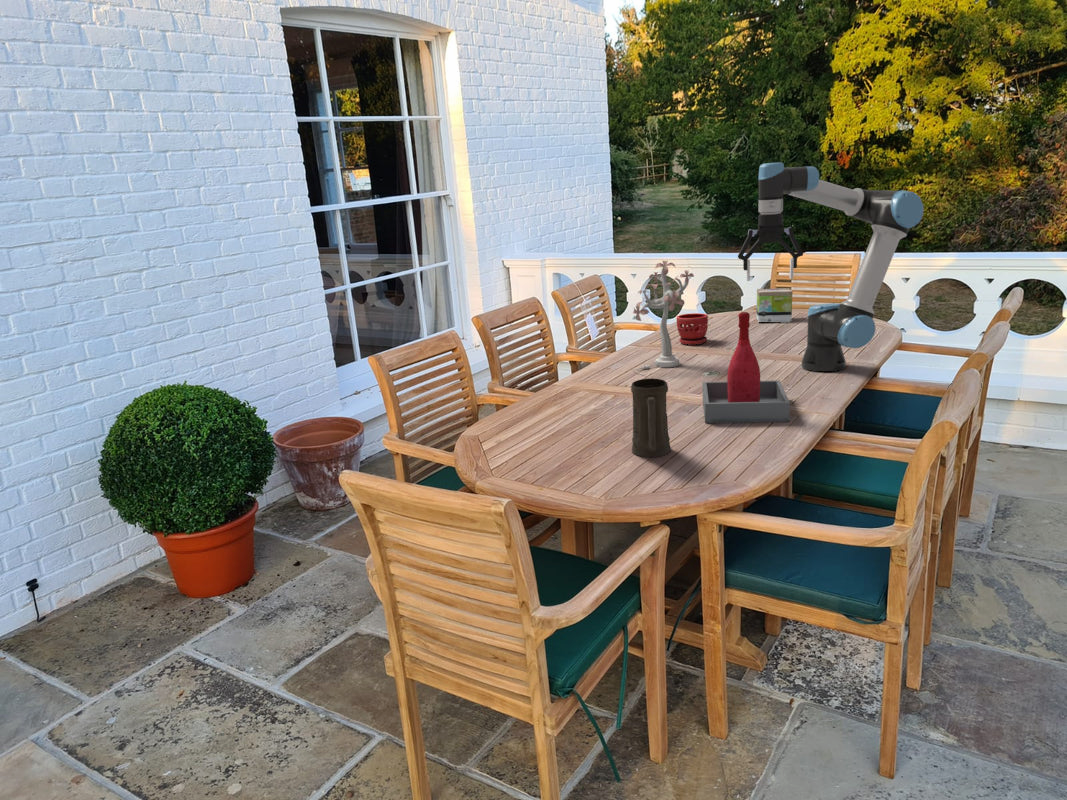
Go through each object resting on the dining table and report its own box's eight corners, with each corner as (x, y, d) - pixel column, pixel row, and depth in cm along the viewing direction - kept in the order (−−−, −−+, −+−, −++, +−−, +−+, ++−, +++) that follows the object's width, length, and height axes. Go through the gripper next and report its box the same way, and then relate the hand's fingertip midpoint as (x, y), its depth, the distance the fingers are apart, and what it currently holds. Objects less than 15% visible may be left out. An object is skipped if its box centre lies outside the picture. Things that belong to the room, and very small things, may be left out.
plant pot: (712, 340, 345) (712, 312, 342) (701, 347, 335) (701, 318, 332) (684, 338, 352) (683, 311, 349) (672, 345, 342) (671, 317, 339)
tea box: (758, 323, 371) (758, 292, 367) (756, 319, 381) (756, 288, 376) (792, 322, 368) (792, 290, 364) (789, 318, 378) (789, 287, 374)
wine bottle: (761, 402, 253) (762, 309, 245) (758, 412, 244) (759, 315, 236) (729, 401, 257) (729, 309, 248) (725, 411, 248) (725, 315, 239)
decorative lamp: (648, 378, 295) (644, 268, 283) (616, 365, 315) (612, 263, 304) (710, 365, 305) (709, 260, 294) (675, 354, 326) (673, 255, 314)
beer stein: (627, 445, 228) (625, 378, 221) (664, 441, 228) (664, 375, 221) (639, 467, 213) (637, 397, 206) (678, 463, 214) (678, 393, 207)
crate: (779, 398, 260) (779, 380, 258) (789, 421, 237) (789, 402, 235) (702, 399, 264) (702, 381, 263) (705, 422, 242) (704, 403, 240)
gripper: (731, 216, 255) (731, 282, 261) (813, 211, 250) (811, 279, 256) (729, 214, 262) (729, 279, 268) (809, 209, 257) (807, 275, 263)
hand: (769, 279), depth 262 cm, fingers open, 13 cm apart
